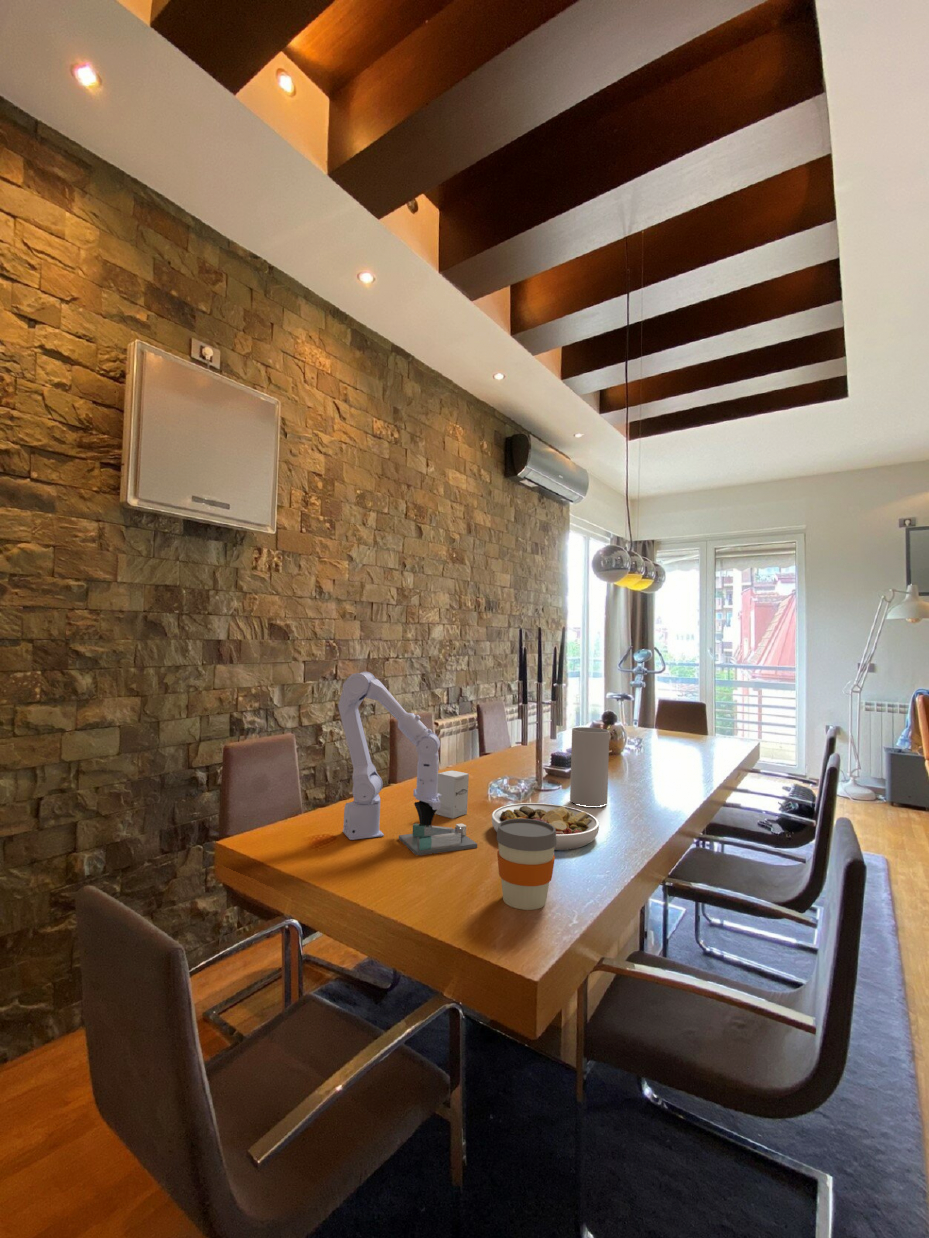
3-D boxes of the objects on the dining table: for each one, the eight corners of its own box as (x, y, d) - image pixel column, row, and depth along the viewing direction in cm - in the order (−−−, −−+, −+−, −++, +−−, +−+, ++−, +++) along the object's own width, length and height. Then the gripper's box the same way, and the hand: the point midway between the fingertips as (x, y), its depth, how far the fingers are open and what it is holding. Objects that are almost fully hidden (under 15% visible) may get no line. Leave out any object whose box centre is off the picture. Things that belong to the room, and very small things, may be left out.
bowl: (499, 815, 181) (500, 789, 181) (597, 824, 175) (598, 798, 175) (482, 847, 152) (483, 817, 152) (599, 860, 145) (600, 828, 146)
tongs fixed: (419, 850, 144) (419, 835, 144) (414, 845, 147) (415, 831, 147) (465, 844, 150) (466, 830, 150) (460, 839, 153) (460, 826, 153)
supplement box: (453, 819, 174) (454, 777, 174) (434, 814, 178) (436, 772, 179) (467, 814, 180) (469, 773, 180) (449, 809, 184) (450, 769, 185)
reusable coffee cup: (567, 904, 119) (569, 830, 120) (521, 919, 112) (524, 841, 112) (527, 882, 129) (529, 815, 130) (482, 895, 122) (484, 823, 123)
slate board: (416, 855, 143) (416, 851, 143) (398, 839, 155) (398, 835, 155) (477, 847, 150) (477, 843, 150) (455, 832, 162) (456, 828, 162)
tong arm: (412, 835, 153) (412, 824, 154) (414, 834, 155) (414, 823, 155) (450, 840, 151) (451, 829, 151) (452, 838, 153) (452, 827, 153)
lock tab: (459, 835, 155) (459, 826, 155) (455, 832, 157) (455, 824, 157) (466, 834, 156) (466, 825, 156) (462, 832, 158) (462, 823, 158)
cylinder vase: (562, 802, 198) (564, 728, 199) (584, 796, 206) (586, 726, 207) (593, 810, 189) (595, 733, 190) (614, 804, 197) (616, 731, 198)
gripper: (451, 783, 152) (450, 836, 152) (430, 772, 165) (428, 820, 165) (427, 786, 149) (425, 839, 149) (407, 773, 162) (405, 822, 162)
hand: (425, 829), depth 156 cm, fingers closed
